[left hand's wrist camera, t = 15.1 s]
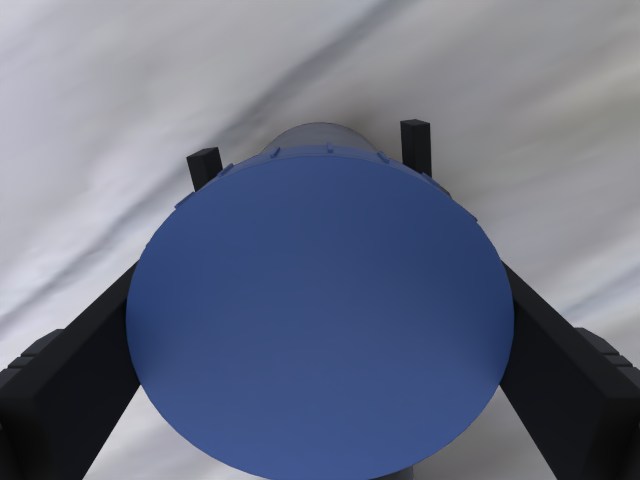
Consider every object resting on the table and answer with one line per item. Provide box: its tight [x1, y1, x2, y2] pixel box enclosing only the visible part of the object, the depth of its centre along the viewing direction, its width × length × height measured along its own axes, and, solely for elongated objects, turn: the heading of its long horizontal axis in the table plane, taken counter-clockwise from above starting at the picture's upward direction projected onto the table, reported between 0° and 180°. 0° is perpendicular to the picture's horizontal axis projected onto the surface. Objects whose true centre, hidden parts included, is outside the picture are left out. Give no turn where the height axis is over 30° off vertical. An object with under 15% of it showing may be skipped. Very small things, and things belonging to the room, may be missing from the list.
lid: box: [126, 142, 514, 480], centre depth 11 cm, size 10×10×2 cm
